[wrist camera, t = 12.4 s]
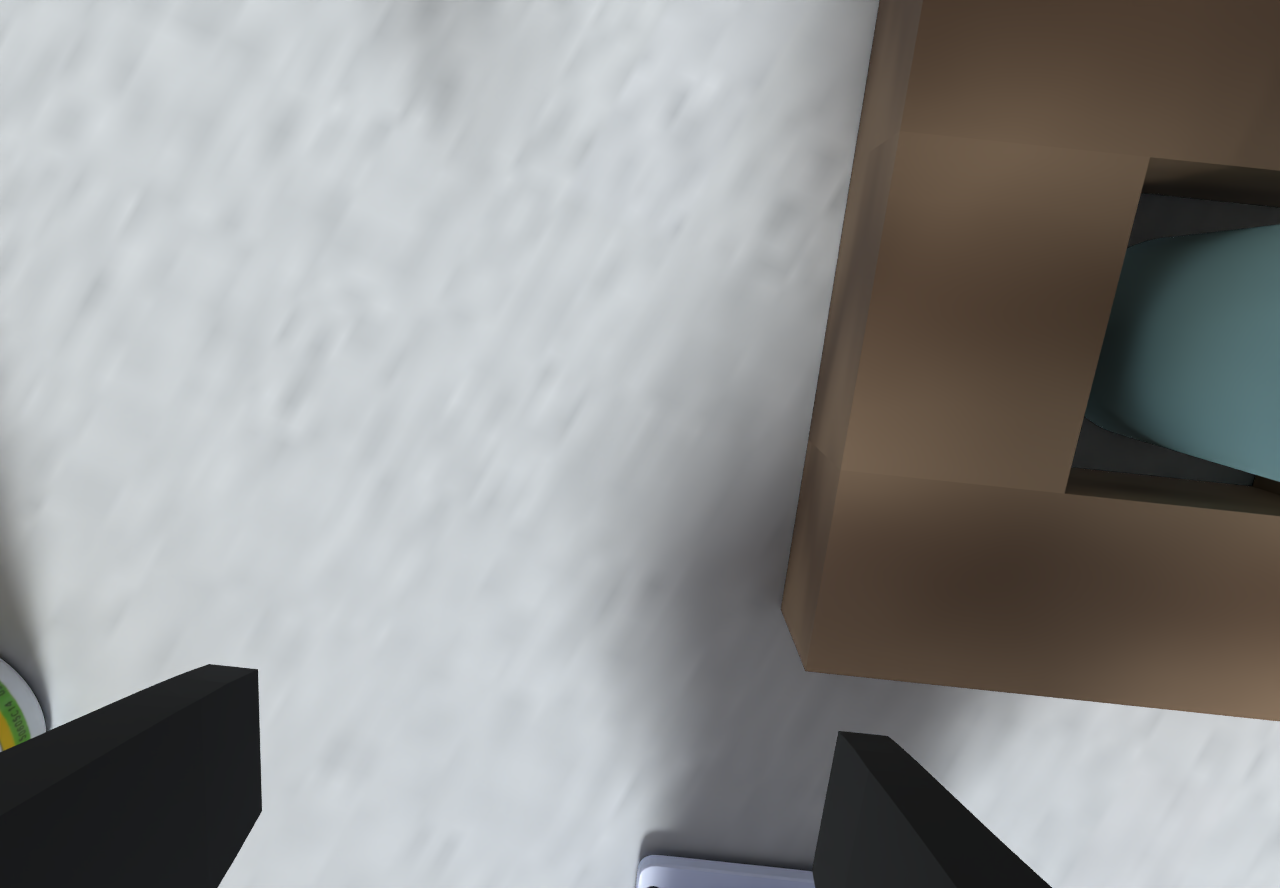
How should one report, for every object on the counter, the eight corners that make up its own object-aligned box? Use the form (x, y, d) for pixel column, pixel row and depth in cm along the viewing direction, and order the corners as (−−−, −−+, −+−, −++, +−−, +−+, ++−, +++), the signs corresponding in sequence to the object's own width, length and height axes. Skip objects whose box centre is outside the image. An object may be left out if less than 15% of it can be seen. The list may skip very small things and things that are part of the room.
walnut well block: (1372, 671, 18) (1514, 746, 15) (780, 609, 18) (805, 671, 15) (1629, 7, 14) (1882, -67, 11) (890, -69, 14) (951, -163, 11)
